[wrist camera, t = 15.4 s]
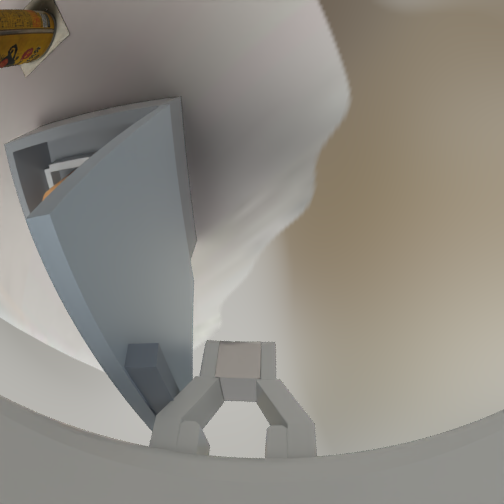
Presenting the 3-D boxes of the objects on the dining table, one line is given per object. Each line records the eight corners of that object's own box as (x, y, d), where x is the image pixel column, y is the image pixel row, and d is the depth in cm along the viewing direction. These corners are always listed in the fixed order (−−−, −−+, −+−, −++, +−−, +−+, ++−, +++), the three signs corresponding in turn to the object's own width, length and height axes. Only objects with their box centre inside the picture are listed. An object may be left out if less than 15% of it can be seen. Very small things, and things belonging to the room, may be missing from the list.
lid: (184, 465, 13) (211, 464, 13) (25, 218, 4) (93, 206, 4) (187, 281, 26) (204, 280, 26) (160, 105, 17) (183, 102, 17)
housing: (74, 242, 32) (49, 276, 26) (43, 125, 23) (4, 144, 18) (196, 240, 31) (184, 280, 26) (181, 96, 22) (157, 105, 17)
